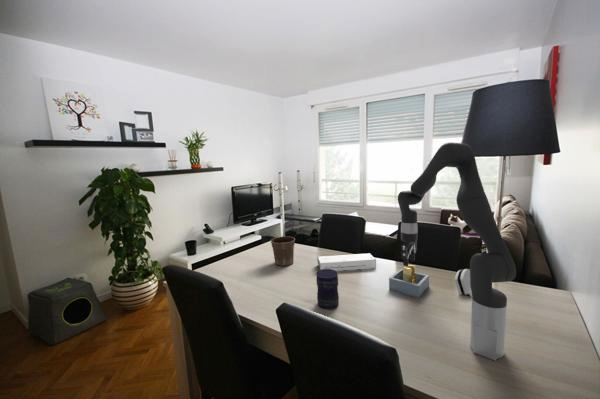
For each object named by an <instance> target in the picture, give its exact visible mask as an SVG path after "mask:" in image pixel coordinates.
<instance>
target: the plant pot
mask: <svg viewBox="0 0 600 399" xmlns="http://www.w3.org/2000/svg"><path fill="white" fill-rule="evenodd" d="M295 241H296V238H295V237H293V236H278V237H277V236H276V237H274V238H272V239H270V244H271V247H272V251H273V257H274V263H276V264H277V265H276V264H275V265H276V266H279V265H288V266H290V265H292V263H293V264H294V254H295V252H294V251H295Z"/></svg>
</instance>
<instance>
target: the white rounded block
mask: <svg viewBox="0 0 600 399" xmlns="http://www.w3.org/2000/svg"><path fill="white" fill-rule="evenodd" d="M454 282H455V284H456V288H457V292H458V294H459V295H463V294H464V295H469V296H470V298H472V291H471V287H470V268H464V269H459V270H457V272H456V274H455V276H454Z"/></svg>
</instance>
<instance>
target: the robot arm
mask: <svg viewBox="0 0 600 399" xmlns="http://www.w3.org/2000/svg"><path fill="white" fill-rule="evenodd" d="M446 167H447V168H456V169H457V172H458V174H459V177H460V185H459V187H458V191H457V195H456V204H457V209H458V211H459V215H460V217H461V219H462V220H463V222H464V223H465V224H466V225H467V226H468V227H469V228H470V229H471V230H472V231H473V232H474V233H476V235H477V236H478V237H479V238H480V239H481V240H482V241H483V244H484V246H485V248H486V250H487V252H482V253H481V252H479V253H475V254H473V255H472V256H471V258H470V262H469V269H470V287H471V291H472V297H471V310H470V311H471V316H470V317H471V318H470V336H469V339H470V340H469V342H470V343H469V345H470V347H471V350H472V353H473V354H476V355H479V356H482V357H484V358H487V359H490V360H493V361H495V362H496V361H497V360H499V359H502V358H503V357H504V355H505V338H506V322H507V304H508V299H507V295H506V294H505V293H504V292H502V291H500V290H498V289H496V288H493V284H494V283H507V282H512V281H513V280H515V278H516V275H517V269H516V265H515V261H514V260H513V256H512V255H511V253H510V251H509V248H508V246H507V245H506V243H505V240H504V239H503V235H501V232H500V230H499V227H498V225H497V221H496V219H495V217H494V214H493V211H492V207H491V205H490V203H489V200H488V197H487V194H486V192H485V188H484V187H483V182H482V179H481V176H480V173H479V170H478V169H479V168H478V165H477V160H476V156H475V153H474V151H473V148H472V146H470V145H469V144H468V143H462V142H446V143H443V144H442V145H441V146H440V147H439V148H438V150H437V151H436V152H435V154H433V157H432V158H431V159H430V161H429V163H428V164H427V166H426V167H425V169H424V171H423V172H422V173H421V174H420V176H418V178H416V179H415V181H413V183H412V184H411V185H410V190H402V191H400V192H399V193H398V195H397V203H398V207H399V210H400V213H401V214H400V215H401V218H400V219H401V221H400V222H401V224H400V240H401V241H402V242H403V243H404V244H403V245H401V247H400V258H402V260H403V261H402V263H403V267H406V266H408V265H409V260H410V261H411V262H415V261H416V256H415V255H416V252H417V250H418V248H417V247H418V244H417V242H418V237H419V236H418V235H419V234H418V231H419V230H418V228H419V227H418V226H419V225H418V212H417V211H416V210H415V209H411V208H410V206H412V205H418V204H419V203H421V202H422V200H423V198H424V197H425V194H427V193H428V192H429V191H430V190H431V189H433V187H434V186H435V185H436V182H437V175H438V174H439V172H441V170H443V169H445V168H446Z"/></svg>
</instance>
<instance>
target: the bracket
mask: <svg viewBox="0 0 600 399" xmlns="http://www.w3.org/2000/svg"><path fill="white" fill-rule="evenodd" d="M402 269H403V281H406V282H410V283H414V284H415V272H416V265H412V264H408V266H403V268H402Z"/></svg>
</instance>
